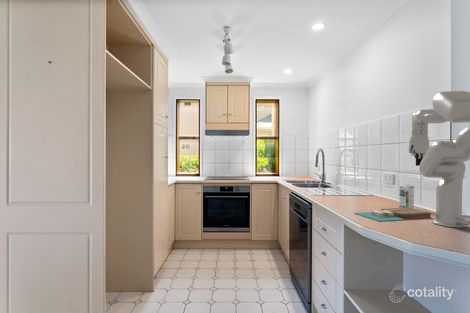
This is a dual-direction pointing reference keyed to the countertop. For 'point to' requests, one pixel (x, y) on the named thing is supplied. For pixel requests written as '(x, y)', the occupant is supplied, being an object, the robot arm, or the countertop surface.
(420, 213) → the walnut deck
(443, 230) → the countertop surface
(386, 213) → the birch tile
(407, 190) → the syrup box
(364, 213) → the teal mat
